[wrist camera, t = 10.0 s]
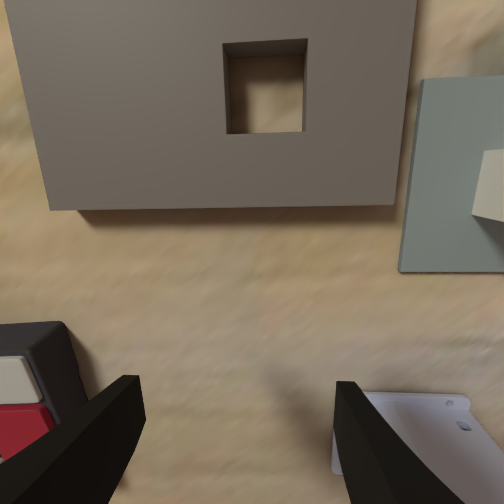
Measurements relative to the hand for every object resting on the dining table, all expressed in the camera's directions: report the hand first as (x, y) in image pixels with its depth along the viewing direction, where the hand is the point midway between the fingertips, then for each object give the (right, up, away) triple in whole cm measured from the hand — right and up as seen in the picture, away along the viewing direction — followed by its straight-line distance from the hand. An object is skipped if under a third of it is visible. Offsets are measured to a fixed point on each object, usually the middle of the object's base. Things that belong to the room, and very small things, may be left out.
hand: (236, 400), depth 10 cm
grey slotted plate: (-2, +14, +6) cm, 16 cm away
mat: (+15, +10, +6) cm, 19 cm away
